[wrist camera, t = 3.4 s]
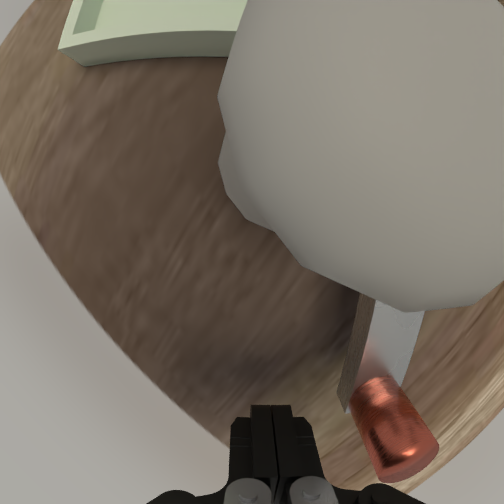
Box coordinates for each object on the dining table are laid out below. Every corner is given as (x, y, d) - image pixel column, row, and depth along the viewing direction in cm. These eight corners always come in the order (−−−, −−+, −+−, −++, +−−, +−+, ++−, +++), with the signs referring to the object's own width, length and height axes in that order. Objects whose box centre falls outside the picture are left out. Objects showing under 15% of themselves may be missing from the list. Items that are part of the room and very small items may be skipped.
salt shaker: (255, 244, 15) (297, 494, 2) (203, 140, 14) (27, -20, 1) (359, 194, 15) (611, 250, 2) (310, 91, 13) (470, -94, 1)
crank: (353, -4, 10) (409, -87, 3) (416, 17, 10) (491, -42, 3) (318, 384, 14) (353, 490, 8) (380, 381, 15) (434, 471, 8)
